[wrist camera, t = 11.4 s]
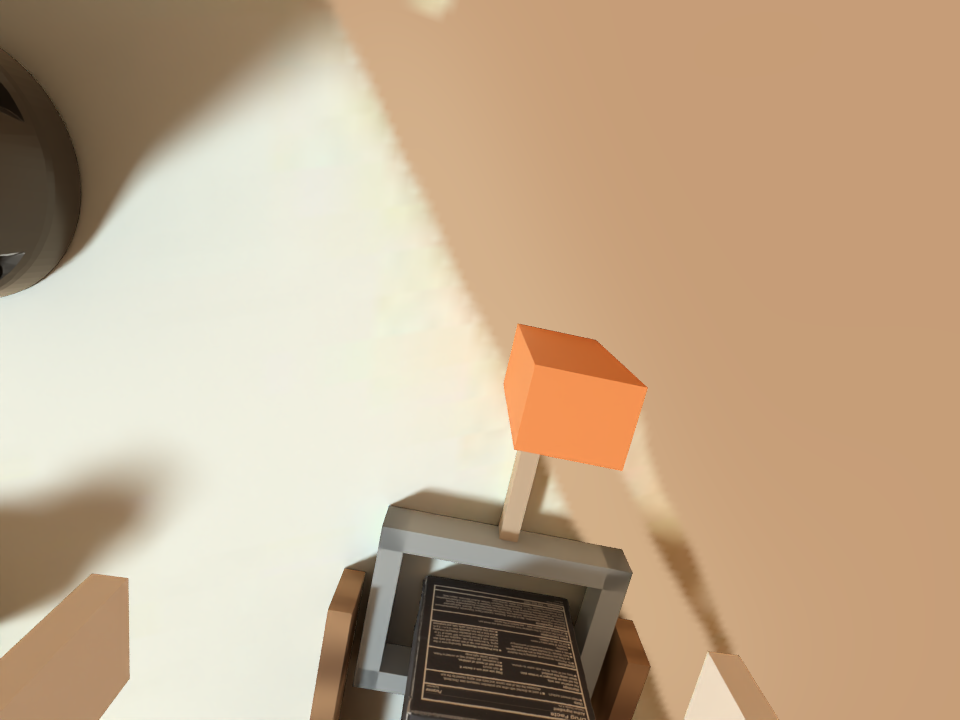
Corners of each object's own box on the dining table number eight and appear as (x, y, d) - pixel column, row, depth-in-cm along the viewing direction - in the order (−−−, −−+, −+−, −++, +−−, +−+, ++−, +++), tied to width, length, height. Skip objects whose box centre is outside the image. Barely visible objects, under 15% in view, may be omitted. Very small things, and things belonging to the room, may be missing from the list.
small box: (409, 647, 37) (383, 803, 27) (424, 571, 36) (403, 707, 26) (549, 670, 38) (575, 831, 28) (570, 596, 36) (606, 739, 26)
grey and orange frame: (427, 304, 31) (403, 337, 21) (683, 358, 32) (772, 413, 22) (360, 656, 37) (319, 805, 28) (575, 693, 38) (608, 850, 29)
